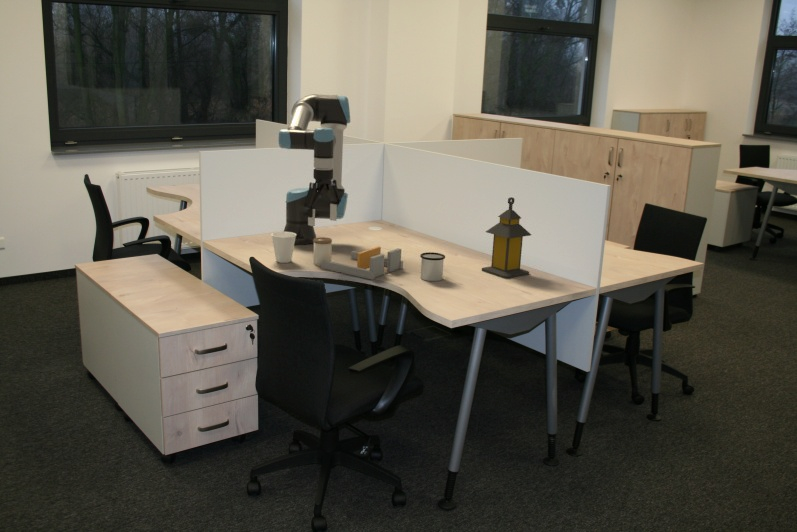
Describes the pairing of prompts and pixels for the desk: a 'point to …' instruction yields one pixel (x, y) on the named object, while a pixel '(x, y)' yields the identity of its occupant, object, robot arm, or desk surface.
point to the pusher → (367, 257)
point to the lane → (375, 265)
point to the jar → (322, 250)
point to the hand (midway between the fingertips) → (322, 222)
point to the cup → (283, 246)
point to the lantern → (507, 245)
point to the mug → (432, 266)
